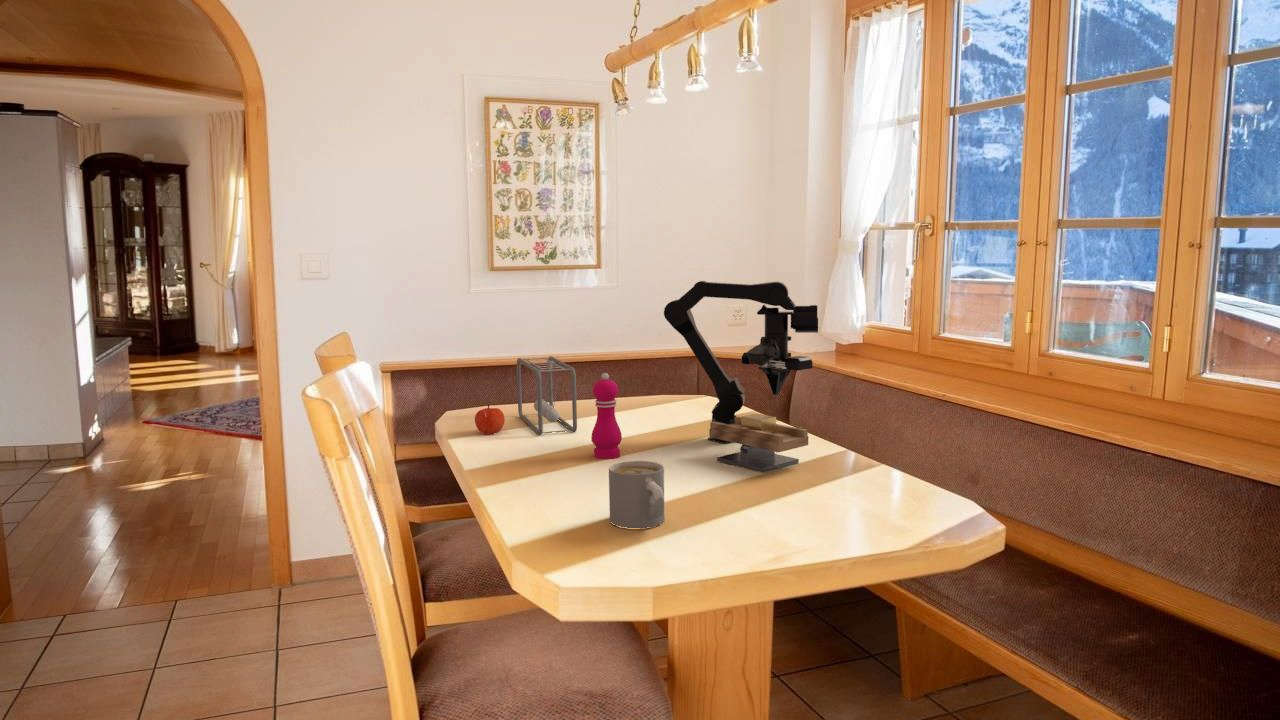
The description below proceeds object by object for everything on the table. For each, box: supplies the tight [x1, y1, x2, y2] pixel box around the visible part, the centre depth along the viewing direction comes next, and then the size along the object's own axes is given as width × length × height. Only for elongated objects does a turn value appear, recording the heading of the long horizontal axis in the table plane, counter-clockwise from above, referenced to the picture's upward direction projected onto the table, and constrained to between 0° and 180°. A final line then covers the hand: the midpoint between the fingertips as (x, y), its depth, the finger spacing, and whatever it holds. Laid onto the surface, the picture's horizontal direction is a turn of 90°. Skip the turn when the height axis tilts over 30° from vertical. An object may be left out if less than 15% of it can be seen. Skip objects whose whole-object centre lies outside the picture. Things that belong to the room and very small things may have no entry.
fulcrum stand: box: [716, 444, 800, 474], centre depth 198 cm, size 14×12×5 cm
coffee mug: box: [608, 460, 666, 528], centre depth 155 cm, size 13×10×10 cm
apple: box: [474, 403, 506, 435], centre depth 233 cm, size 8×8×8 cm
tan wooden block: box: [740, 412, 777, 433], centre depth 197 cm, size 6×5×4 cm
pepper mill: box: [590, 372, 623, 460], centre depth 205 cm, size 7×7×20 cm
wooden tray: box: [708, 416, 809, 453], centre depth 197 cm, size 21×10×4 cm, turn 40°
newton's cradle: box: [516, 355, 578, 436], centre depth 243 cm, size 30×10×18 cm, turn 19°
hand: (775, 394), depth 217 cm, fingers closed
